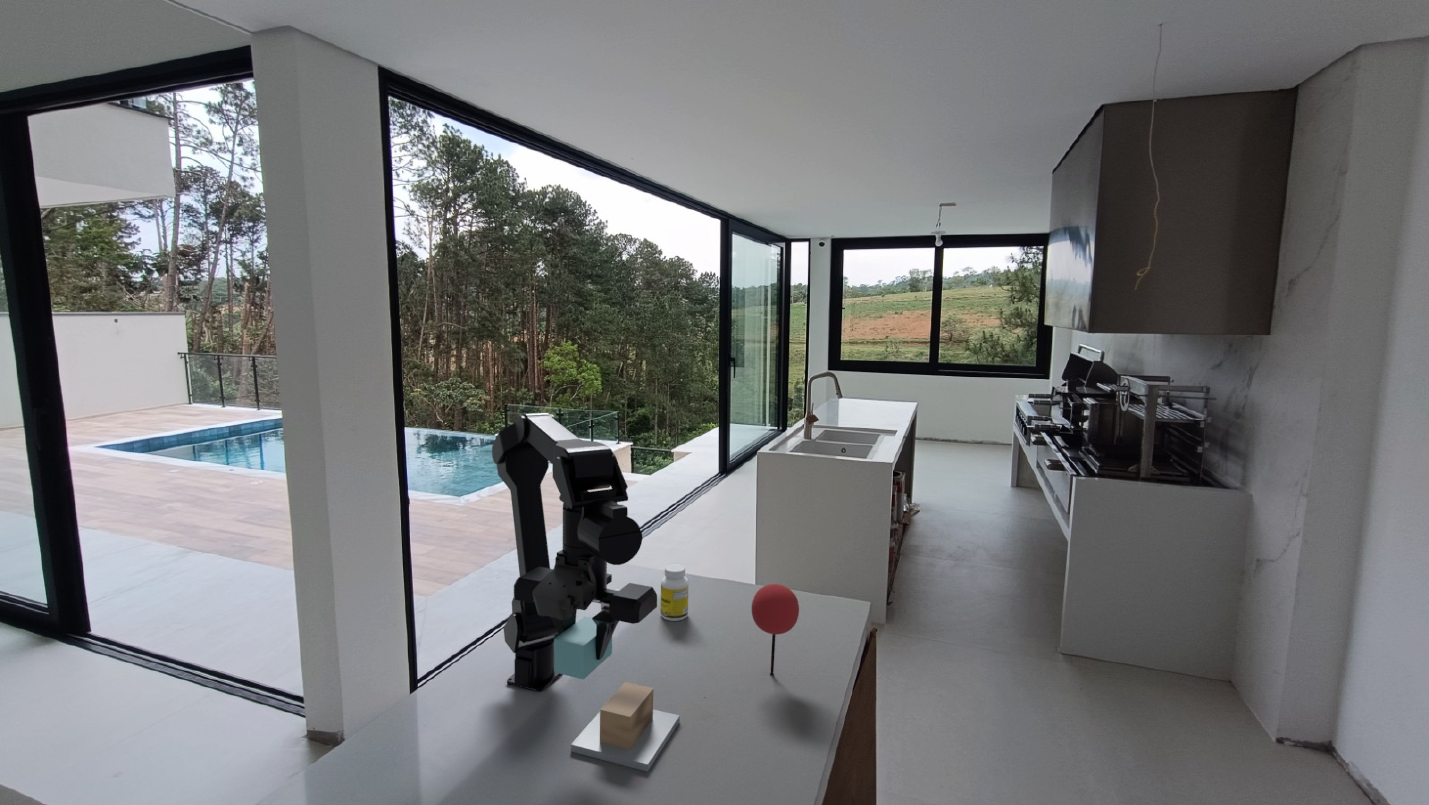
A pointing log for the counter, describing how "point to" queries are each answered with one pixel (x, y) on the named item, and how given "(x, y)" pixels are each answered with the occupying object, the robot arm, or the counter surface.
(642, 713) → the walnut brick
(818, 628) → the counter surface
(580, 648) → the teal brick
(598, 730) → the base plate
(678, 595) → the supplement bottle
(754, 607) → the lollipop
